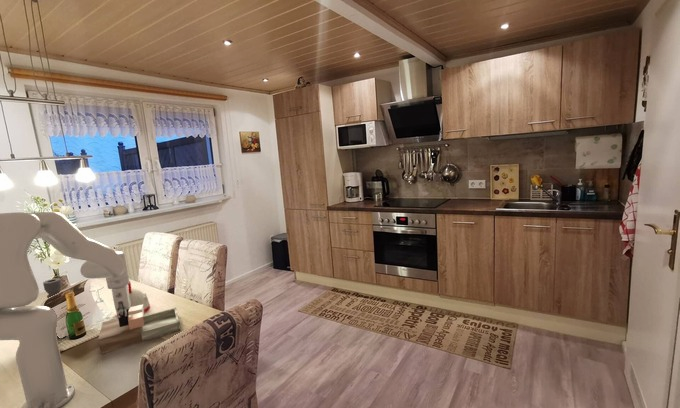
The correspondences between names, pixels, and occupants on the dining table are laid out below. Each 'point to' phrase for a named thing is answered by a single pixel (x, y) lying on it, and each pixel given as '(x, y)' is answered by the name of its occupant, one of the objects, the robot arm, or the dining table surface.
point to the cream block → (136, 310)
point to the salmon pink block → (135, 320)
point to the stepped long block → (137, 330)
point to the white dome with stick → (138, 298)
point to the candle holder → (52, 287)
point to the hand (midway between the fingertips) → (125, 320)
